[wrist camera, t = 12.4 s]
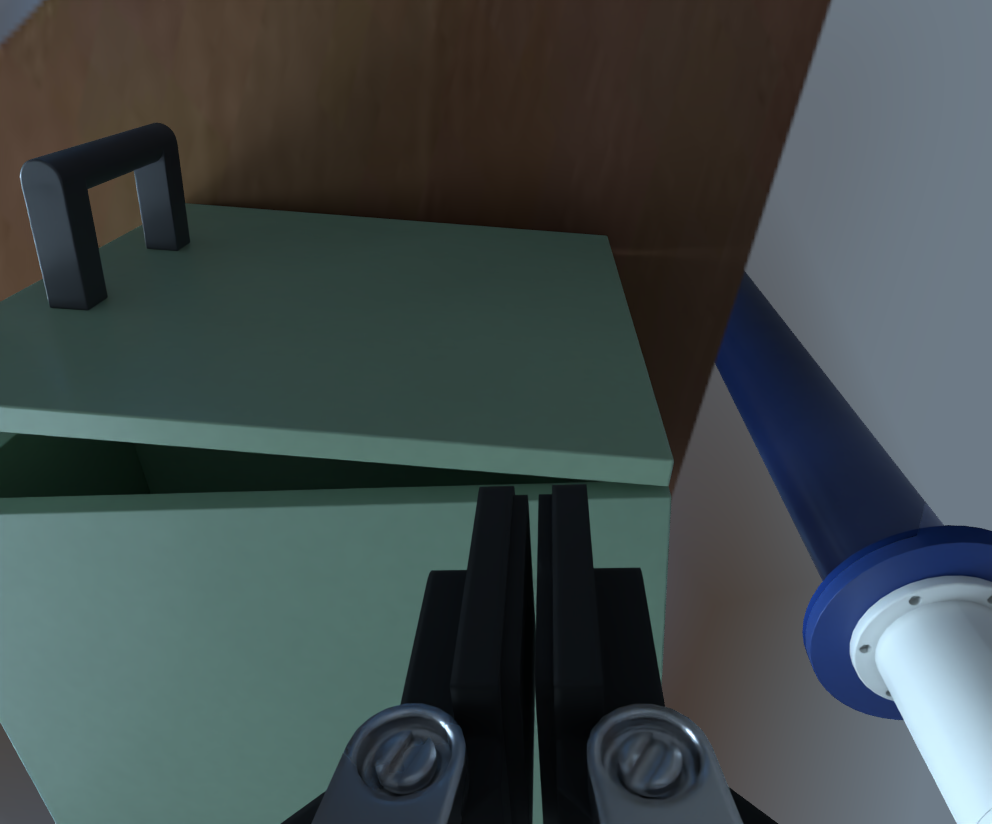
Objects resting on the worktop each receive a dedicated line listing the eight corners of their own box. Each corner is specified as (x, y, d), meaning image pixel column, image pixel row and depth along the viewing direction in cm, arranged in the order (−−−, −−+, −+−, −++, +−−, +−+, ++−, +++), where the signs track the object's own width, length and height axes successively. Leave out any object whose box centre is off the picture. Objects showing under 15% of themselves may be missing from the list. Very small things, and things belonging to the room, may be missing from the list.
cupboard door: (168, 100, 43) (-244, 202, 20) (621, 134, 43) (713, 276, 20) (184, 219, 46) (-157, 419, 24) (605, 251, 46) (669, 487, 23)
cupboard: (197, 275, 48) (-114, 517, 25) (606, 254, 46) (671, 496, 23) (257, 506, 57) (66, 843, 34) (605, 497, 55) (653, 850, 32)
